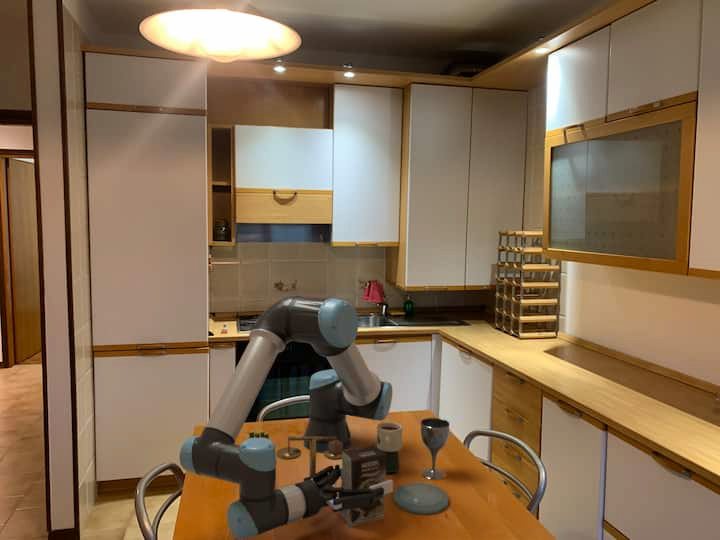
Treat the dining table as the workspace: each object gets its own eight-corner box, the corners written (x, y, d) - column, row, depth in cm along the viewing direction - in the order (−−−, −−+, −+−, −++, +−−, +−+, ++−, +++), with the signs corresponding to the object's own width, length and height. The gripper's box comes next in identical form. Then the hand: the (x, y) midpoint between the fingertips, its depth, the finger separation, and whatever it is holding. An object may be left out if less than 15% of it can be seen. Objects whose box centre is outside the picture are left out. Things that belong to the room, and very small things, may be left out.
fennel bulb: (246, 472, 157) (246, 430, 156) (260, 466, 161) (260, 426, 160) (259, 478, 153) (259, 436, 152) (273, 473, 157) (273, 431, 156)
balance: (270, 501, 141) (270, 433, 140) (336, 480, 153) (337, 418, 152) (285, 514, 135) (286, 444, 133) (353, 492, 147) (354, 427, 145)
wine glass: (446, 482, 154) (448, 429, 152) (417, 478, 155) (419, 426, 154) (448, 469, 161) (450, 419, 160) (420, 466, 163) (422, 416, 162)
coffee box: (351, 527, 130) (353, 460, 129) (339, 514, 136) (341, 450, 134) (385, 518, 134) (387, 453, 133) (372, 506, 140) (374, 443, 139)
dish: (382, 496, 145) (382, 491, 145) (422, 482, 153) (422, 477, 153) (418, 520, 134) (419, 515, 134) (460, 503, 142) (460, 498, 142)
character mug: (379, 460, 166) (380, 418, 165) (403, 463, 165) (404, 420, 164) (372, 477, 156) (373, 432, 154) (398, 480, 154) (399, 434, 153)
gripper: (273, 496, 133) (349, 473, 146) (326, 542, 115) (407, 511, 128) (273, 466, 133) (349, 445, 146) (326, 507, 114) (408, 479, 127)
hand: (376, 476), depth 137 cm, fingers open, 11 cm apart
